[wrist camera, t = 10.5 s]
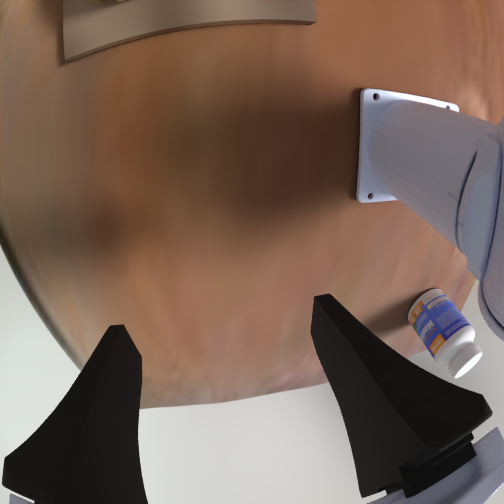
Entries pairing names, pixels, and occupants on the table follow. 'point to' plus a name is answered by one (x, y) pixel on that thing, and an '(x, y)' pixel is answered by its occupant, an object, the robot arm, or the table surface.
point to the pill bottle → (444, 332)
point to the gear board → (166, 19)
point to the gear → (100, 1)
